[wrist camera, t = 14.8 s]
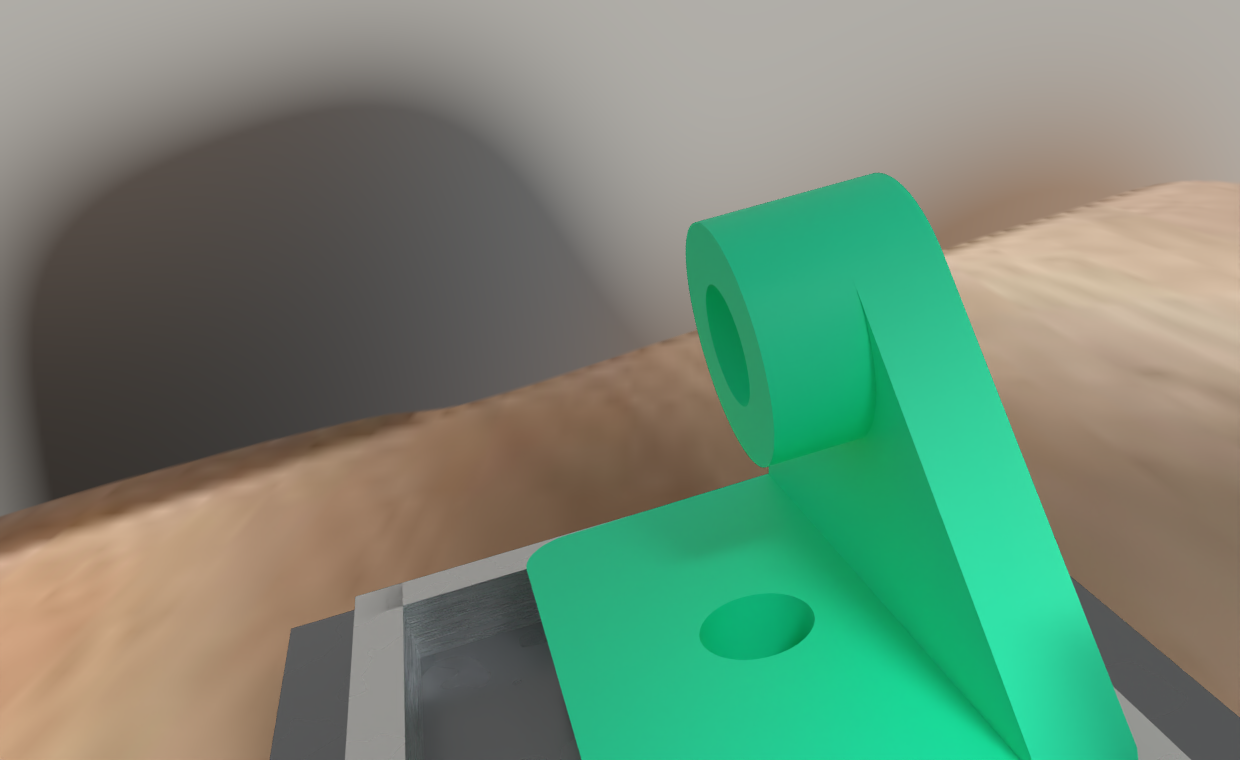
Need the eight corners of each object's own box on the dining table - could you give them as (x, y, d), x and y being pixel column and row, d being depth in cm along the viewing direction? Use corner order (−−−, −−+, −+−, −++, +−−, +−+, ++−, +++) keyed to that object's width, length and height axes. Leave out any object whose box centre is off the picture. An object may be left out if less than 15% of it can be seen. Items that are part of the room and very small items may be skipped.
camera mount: (548, 644, 28) (428, 231, 25) (846, 550, 29) (769, 139, 25) (670, 1064, 17) (480, 410, 13) (1150, 889, 18) (1087, 235, 14)
